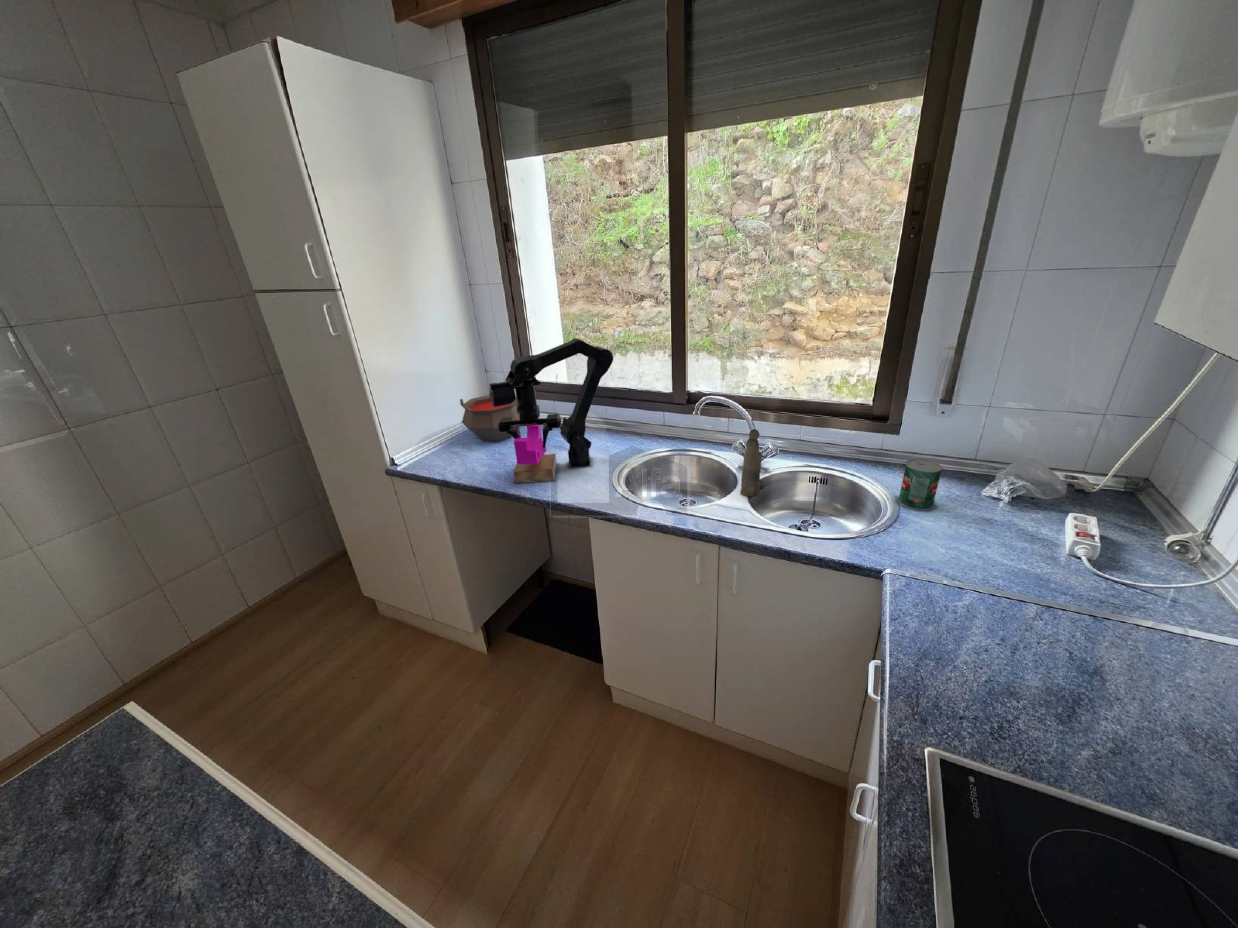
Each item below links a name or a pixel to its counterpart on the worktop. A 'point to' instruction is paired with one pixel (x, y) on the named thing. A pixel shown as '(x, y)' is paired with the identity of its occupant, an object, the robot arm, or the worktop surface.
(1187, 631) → the worktop surface
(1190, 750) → the worktop surface
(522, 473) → the plinth
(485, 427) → the brown faceted pot
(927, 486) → the canned tomato
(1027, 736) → the worktop surface
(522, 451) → the toy block
